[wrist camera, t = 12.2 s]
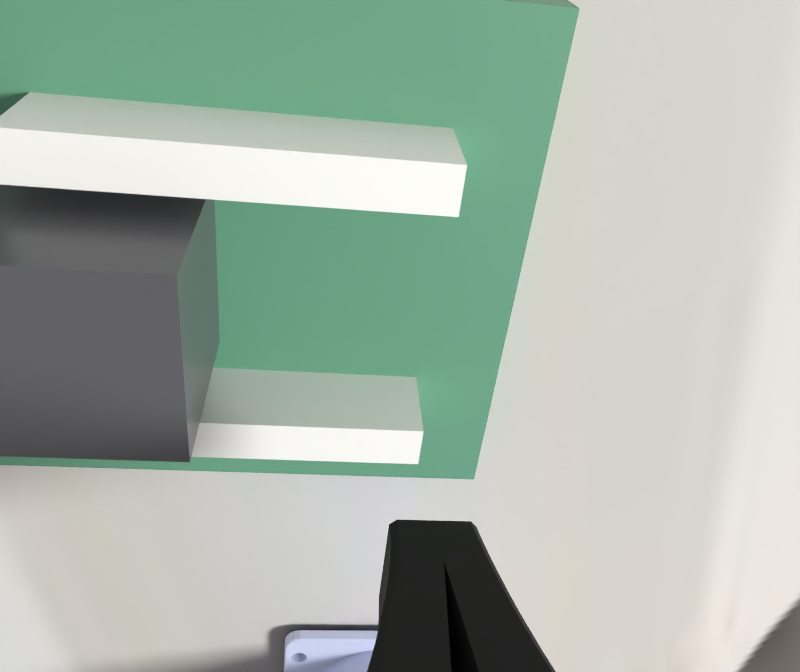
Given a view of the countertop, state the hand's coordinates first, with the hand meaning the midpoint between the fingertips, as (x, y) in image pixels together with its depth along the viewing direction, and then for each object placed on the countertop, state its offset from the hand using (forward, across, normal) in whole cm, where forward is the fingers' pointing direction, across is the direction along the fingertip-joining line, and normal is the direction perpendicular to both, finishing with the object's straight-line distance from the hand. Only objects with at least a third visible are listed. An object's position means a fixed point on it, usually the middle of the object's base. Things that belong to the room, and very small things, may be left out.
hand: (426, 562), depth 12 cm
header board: (+7, +4, -2) cm, 9 cm away
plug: (+6, +7, -2) cm, 9 cm away
